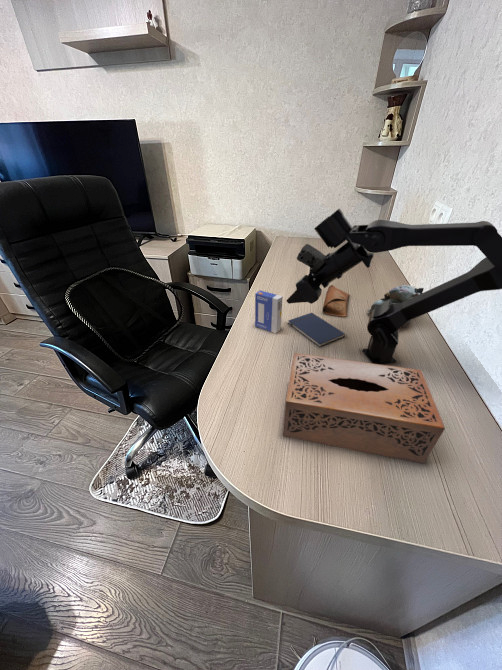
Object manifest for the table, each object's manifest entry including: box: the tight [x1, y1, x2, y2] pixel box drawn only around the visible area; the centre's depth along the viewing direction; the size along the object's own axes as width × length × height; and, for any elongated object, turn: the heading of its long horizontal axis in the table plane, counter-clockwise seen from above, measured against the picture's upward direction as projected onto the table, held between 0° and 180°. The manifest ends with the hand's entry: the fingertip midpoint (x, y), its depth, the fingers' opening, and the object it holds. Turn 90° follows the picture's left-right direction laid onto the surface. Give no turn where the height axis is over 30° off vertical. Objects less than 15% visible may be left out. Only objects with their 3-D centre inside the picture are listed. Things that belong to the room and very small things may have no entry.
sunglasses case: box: [322, 284, 350, 318], centre depth 100 cm, size 18×7×7 cm
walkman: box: [254, 289, 284, 334], centre depth 85 cm, size 8×3×12 cm, turn 58°
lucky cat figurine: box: [366, 284, 425, 328], centre depth 89 cm, size 15×12×14 cm
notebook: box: [287, 312, 346, 348], centre depth 87 cm, size 15×10×1 cm
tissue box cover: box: [282, 352, 446, 464], centre depth 56 cm, size 26×14×10 cm, turn 77°
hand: (292, 295), depth 77 cm, fingers open, 9 cm apart
